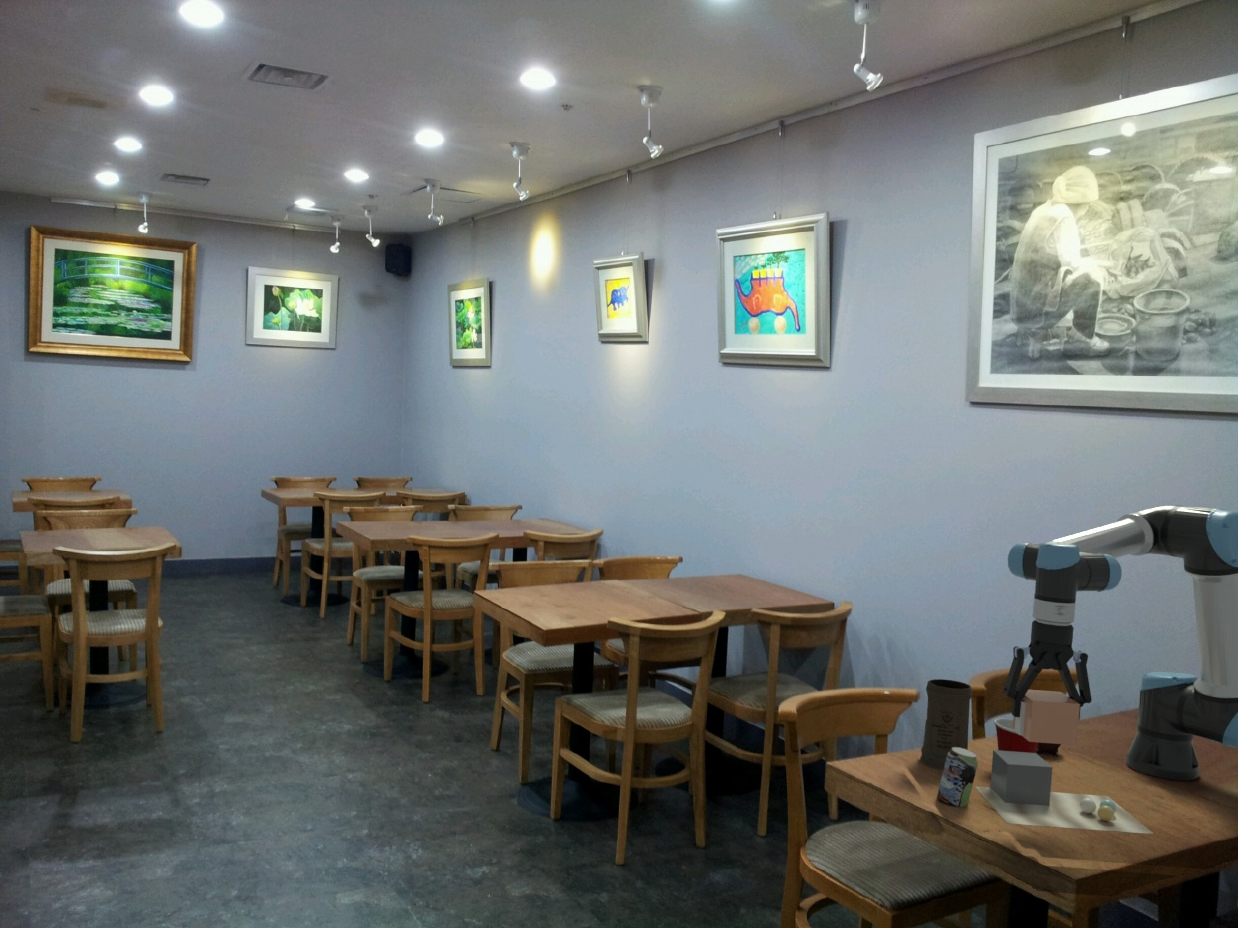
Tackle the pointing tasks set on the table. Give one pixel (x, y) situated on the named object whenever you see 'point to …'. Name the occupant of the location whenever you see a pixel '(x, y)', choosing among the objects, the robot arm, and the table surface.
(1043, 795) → the gray cube
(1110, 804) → the marble teal
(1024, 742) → the plastic cup
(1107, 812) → the marble amber
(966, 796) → the beverage can
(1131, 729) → the table surface
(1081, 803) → the marble cream
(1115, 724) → the table surface
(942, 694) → the beer stein
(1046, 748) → the mate gourd
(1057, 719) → the salmon pink cube
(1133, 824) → the cream cloth mat
